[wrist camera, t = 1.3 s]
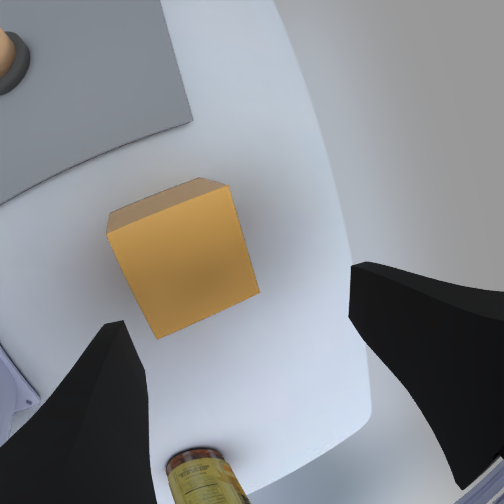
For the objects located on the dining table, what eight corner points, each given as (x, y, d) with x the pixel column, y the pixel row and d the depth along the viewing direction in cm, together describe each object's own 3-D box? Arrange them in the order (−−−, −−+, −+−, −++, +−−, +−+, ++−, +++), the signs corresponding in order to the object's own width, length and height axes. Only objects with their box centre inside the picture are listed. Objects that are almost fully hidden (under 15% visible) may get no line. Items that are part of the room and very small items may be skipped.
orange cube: (145, 295, 18) (157, 339, 14) (110, 213, 16) (106, 234, 11) (226, 260, 20) (259, 292, 15) (199, 177, 17) (228, 185, 13)
